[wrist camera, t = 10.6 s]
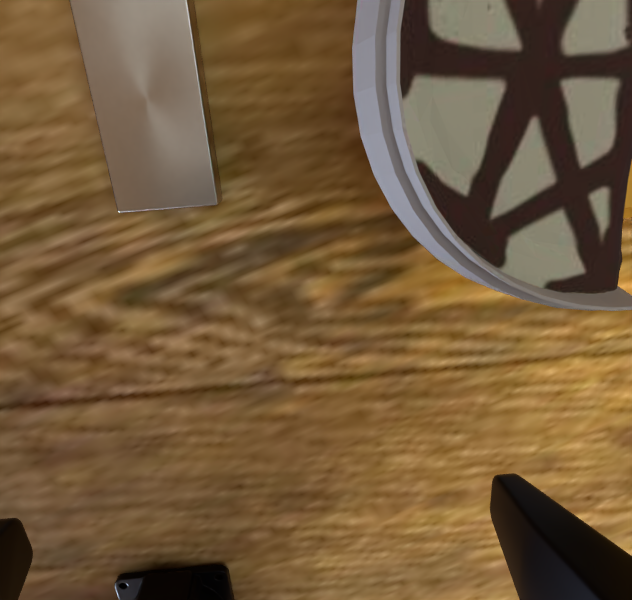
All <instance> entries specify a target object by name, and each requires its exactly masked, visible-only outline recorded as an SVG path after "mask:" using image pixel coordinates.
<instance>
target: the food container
mask: <svg viewBox="0 0 632 600" xmlns="http://www.w3.org/2000/svg"><path fill="white" fill-rule="evenodd" d="M352 59H353V94H354V100H355V106H356V112H357V117H358V123H359V129H360V135H361V139H362V141H363V144H364V147H365V150H366V153H367V156H368V159H369V162H370V165H371V168H372V171H373V174H374V176H375V178H376V180H377V182H378V184H379V186H380V188H381V190H382V192H383V193H384V195H385V197H386V199H387V201H388V203H389V205H390V207H391V208H392V210H393V211H394V212H395V214H396V215H397V216H398V218H399V219H400V220H401V222H402V223H403V224H404V226H405V227H406V228H407V229H408V231H409V232H410V233H411V235H412V236H413V237H414V238H415V239H416V240H417V241H418V242H419V243H420V244H422V245H423V246H424V247H425V248H426V249H427V250H428V251H429V252H430V253H431V254H432V255H433V256H434V257H436V258H437V259H438V260H439V261H441V262H442V263H444V264H445V265H447V266H448V267H450V268H452V269H453V270H455V271H456V272H458V273H459V274H461V275H462V276H464V277H465V278H468V279H470V280H472V281H475V282H477V283H479V284H482V285H484V286H487V287H489V288H491V289H494V290H496V291H499V292H502V293H505V294H508V295H511V296H514V297H517V298H520V299H523V300H527V301H531V302H535V303H540V304H544V305H548V306H552V307H556V308H567V309H579V310H591V311H592V310H608V311H617V310H632V296H631V295H630V294H628V293H627V292H626V291H624V290H623V289H621V288H620V287H618V286H617V285H618V278H619V270H620V267H621V263H622V252H621V239H622V224H623V216H624V208H625V200H626V193H627V185H628V178H629V173H630V167H631V162H632V0H357V9H356V18H355V27H354V36H353V45H352Z"/></svg>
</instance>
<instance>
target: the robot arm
mask: <svg viewBox="0 0 632 600" xmlns="http://www.w3.org/2000/svg"><path fill="white" fill-rule="evenodd" d="M490 513H491V518H492V522H493V525H494V527H495V530H496V533H497V536H498V539H499V542H500V545H501V548H502V550H503V553H504V556H505V559H506V562H507V565H508V568H509V571H510V573H511V576H512V579H513V582H514V585H515V588H516V591H517V593H518V596H519V599H520V600H632V556H631V555H629V554H628V553H627V552H625V551H624V550H622V549H621V548H620V547H618V546H617V545H615V544H614V543H613V542H611V541H610V540H608V539H607V538H606V537H604V536H603V535H601V534H600V533H599V532H597V531H596V530H594V529H593V528H592V527H590V526H589V525H588V524H586V523H585V522H583V521H582V520H581V519H579V518H578V517H576V516H575V515H574V514H572V513H571V512H569V511H568V510H567V509H565V508H564V507H562V506H561V505H560V504H558V503H557V502H555V501H554V500H553V499H551V498H550V497H548V496H547V495H546V494H544V493H543V492H541V491H540V490H539V489H537V488H536V487H534V486H533V485H532V484H530V483H529V482H527V481H526V480H525V479H523V478H522V477H520V476H519V475H517V474H513V473H512V474H501V475H496V476H494V478H493V481H492V491H491V503H490ZM32 557H33V551H32V547H31V544H30V542H29V539H28V537H27V534H26V532H25V529H24V527H23V525H22V522H21V521H20V520H19V519H17V518H8V519H0V600H18V598H19V595H20V593H21V590H22V587H23V584H24V582H25V579H26V576H27V574H28V571H29V568H30V565H31V562H32ZM115 589H116V592H117V595H118V598H119V600H234V595H233V590H232V585H231V580H230V575H229V570H228V568H227V567H226V566H224V565H211V566H200V567H189V568H178V569H167V570H157V571H146V572H135V573H124V574H120V575H119V576H118V577H117V580H116V582H115Z"/></svg>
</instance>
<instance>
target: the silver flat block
mask: <svg viewBox="0 0 632 600" xmlns="http://www.w3.org/2000/svg"><path fill="white" fill-rule="evenodd" d="M69 1H70V5H71V10H72V14H73V18H74V23H75V27H76V31H77V36H78V40H79V44H80V49H81V53H82V57H83V62H84V66H85V70H86V75H87V79H88V84H89V88H90V92H91V97H92V101H93V105H94V110H95V114H96V118H97V123H98V127H99V131H100V136H101V140H102V144H103V149H104V153H105V157H106V162H107V166H108V170H109V175H110V179H111V183H112V188H113V192H114V197H115V201H116V205H117V210H118V212H119V213H125V212H137V211H150V210H162V209H175V208H187V207H200V206H212V205H218V204H219V203H220V202H221V201H222V193H221V187H220V180H219V173H218V166H217V159H216V152H215V145H214V138H213V132H212V125H211V118H210V111H209V104H208V97H207V90H206V83H205V77H204V70H203V63H202V56H201V49H200V42H199V35H198V28H197V22H196V15H195V8H194V1H193V0H69Z"/></svg>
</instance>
